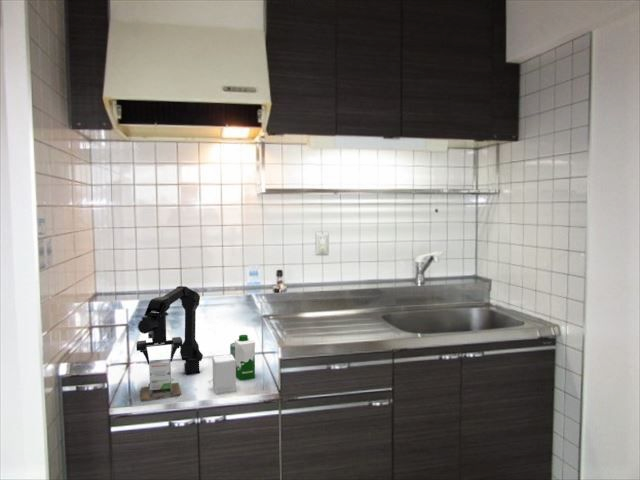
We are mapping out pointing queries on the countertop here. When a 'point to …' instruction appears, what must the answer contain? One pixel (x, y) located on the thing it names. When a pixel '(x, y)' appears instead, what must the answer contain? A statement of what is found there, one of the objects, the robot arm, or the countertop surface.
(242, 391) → the countertop surface
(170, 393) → the base plate
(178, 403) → the countertop surface
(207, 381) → the countertop surface
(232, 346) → the canned tomato
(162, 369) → the ink box
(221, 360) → the supplement box
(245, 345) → the milk carton
